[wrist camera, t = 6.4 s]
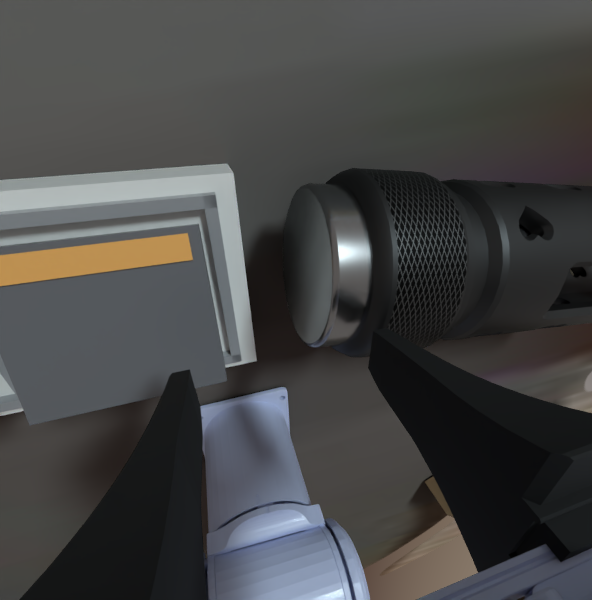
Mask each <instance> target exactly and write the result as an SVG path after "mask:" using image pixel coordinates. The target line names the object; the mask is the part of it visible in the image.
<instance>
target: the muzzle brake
mask: <svg viewBox="0 0 592 600" xmlns="http://www.w3.org/2000/svg"><path fill="white" fill-rule="evenodd" d="M570 269H571V270H572V272H573V273H574V276H572V275H571V273H570ZM283 277H284V286H285V293H286V300H287V304H288V309H289V313H290V316H291V319H292V322H293V325H294V327H295V329H296V332H297V334H298V335H299V337H300V339H301V340H302V341H303V342H304V343H305V344H306V345H308V346H310V347H324V346H331V347H332V348H333V349H335V350H337V351H339V352H341V353H343V354H345V355H347V356H350V357H367V356H370V351H371V343H372V335H373V331H374V330H379V329H384V328H388V329H389V330H391V331H393V332H395V333H397V334H398V335H400V336H402V337H404V338H405V339H407V340H409V341H410V342H412V343H414V344H416V345H417V346H419V347H421V348H424V347H427V346H430V345H432V344H433V343H434V342H436V341H437V340H439V339H443V340H455V339H464V338H470V337H473V336H485V335H496V334H504V333H512V332H520V331H528V330H535V329H540V328H550V327H560V326H568V325H576V324H584V323H592V186H574V185H553V184H534V183H514V182H494V181H473V180H454V179H453V180H447V181H441V182H440V181H439V180H438V179H436V178H434V177H432V176H430V175H428V174H426V173H421V172H412V171H394V170H376V169H359V168H352V169H348V170H345V171H343V172H340V173H339V174H337V175H336V176H334V177H332V178H331V179H330V180H329V181H328V182H326V184H313V183H309V184H306V185H303V186H301V187H300V188H299V189H298V190H297V191H296V193H295V195H294V196H293V198H292V201H291V204H290V206H289V209H288V213H287V217H286V222H285V228H284V237H283Z"/></svg>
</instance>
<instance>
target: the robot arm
mask: <svg viewBox="0 0 592 600" xmlns="http://www.w3.org/2000/svg"><path fill="white" fill-rule="evenodd" d="M368 368H369V370H370V372H371V375H372V377H373V379H374V381H375V383H376V384H377V386H378V388H379V390H380V392H381V393H382V395H383V396H384V398H385V399H386V401H387V402H388V404H389V405H390V407H391V408H392V409H393V411H394V412H395V414H396V415H397V417H398V418H399V420H400V421H401V423H402V424H403V426H404V427H405V428H406V430H407V431H408V433H409V434H410V436H411V437H412V439H413V441H414V442H415V444H416V445H417V447H418V449H419V451H420V452H421V454H422V456H423V458H424V460H425V462H426V463H427V465H428V467H429V469H430V471H431V473H432V475H433V477H434V478H435V480H436V482H437V484H438V486H439V488H440V490H441V492H442V494H443V496H444V498H445V500H446V502H447V504H448V506H449V508H450V510H451V513H452V515H453V517H454V519H455V521H456V523H457V525H458V527H459V530H460V532H461V534H462V536H463V538H464V541H465V543H466V545H467V547H468V550H469V552H470V554H471V557H472V559H473V561H474V564H475V566H476V568H477V571H478V573H477V574H474V575H472V576H470V577H467V578H465V579H463V580H461V581H458V582H456V583H454V584H451V585H449V586H447V587H444V588H442V589H440V590H437V591H435V592H433V593H430V594H428V595H426V596H424V597H421V598H419V599H417V600H517V599H519V598H521V597H523V596H525V599H524V600H592V413H588V412H584V411H580V410H576V409H571V408H567V407H563V406H560V405H556V404H553V403H550V402H546V401H543V400H539V399H536V398H533V397H530V396H527V395H524V394H521V393H518V392H515V391H513V390H510V389H507V388H504V387H502V386H499V385H496V384H494V383H491V382H489V381H487V380H484V379H482V378H480V377H477V376H475V375H473V374H470V373H468V372H466V371H464V370H462V369H460V368H458V367H456V366H454V365H452V364H450V363H448V362H446V361H444V360H442V359H440V358H439V357H437V356H435V355H433V354H431V353H430V352H428V351H426V350H424V349H423V348H421V347H419V346H417V345H416V344H414V343H412V342H410V341H409V340H407V339H405V338H404V337H402V336H400V335H398V334H397V333H395V332H393V331H391V330H389V329H388V328H384V329H379V330H374V331H373V335H372V343H371V351H370V359H369V367H368ZM281 396H282V397H281ZM202 450H203V453H204V456H205V464H206V486H207V508H208V530H209V533H207V559H206V558H205V553H204V552H203V536H202V520H201V481H202ZM20 600H370V596H369V591H368V586H367V582H366V578H365V575H364V571H363V568H362V565H361V562H360V559H359V556H358V554H357V551H356V549H355V546H354V544H353V542H352V540H351V538H350V537H349V535H348V534H347V532H346V531H345V530H344V529H343V528H342V527H341V526H340V525H339V524H338V523H337V522H336V521H335V520H334V519H331V518H328V519H324V518H323V515H322V512H321V509H320V506H319V504H316V505H311V502H310V499H309V496H308V493H307V489H306V486H305V483H304V480H303V476H302V473H301V470H300V467H299V463H298V460H297V457H296V453H295V450H294V447H293V444H292V440H291V437H290V426H289V410H288V394H287V390H286V388H285V387H279V388H275V389H271V390H266V391H262V392H258V393H254V394H250V395H245V396H241V397H237V398H233V399H228V400H224V401H220V402H216V403H212V404H207V405H203V406H200V404H199V401H198V397H197V393H196V390H195V386H194V383H193V379H192V376H191V372H190V369H189V370H184V371H179V372H175V373H172V374H171V375H170V376H169V379H168V381H167V384H166V387H165V389H164V392H163V394H162V396H161V399H160V401H159V403H158V405H157V407H156V410H155V412H154V414H153V416H152V418H151V420H150V422H149V424H148V426H147V428H146V430H145V432H144V433H143V435H142V437H141V439H140V441H139V442H138V444H137V446H136V448H135V450H134V451H133V453H132V455H131V456H130V458H129V460H128V461H127V463H126V465H125V466H124V468H123V469H122V471H121V472H120V474H119V476H118V477H117V479H116V480H115V482H114V483H113V485H112V486H111V488H110V489H109V490H108V492H107V493H106V495H105V496H104V497H103V499H102V500H101V502H100V503H99V504H98V506H97V507H96V509H95V510H94V511H93V513H92V514H91V515H90V517H89V518H88V519H87V521H86V522H85V523H84V524H83V526H82V527H81V528H80V529H79V531H78V532H77V533H76V534H75V536H74V537H73V538H72V539H71V541H70V542H69V543H68V544H67V545H66V547H65V548H64V549H63V550H62V552H61V553H60V554H59V555H58V557H57V558H56V559H55V560H54V561H53V563H52V564H51V565H50V566H49V567H48V568H47V570H46V571H45V572H44V573H43V574H42V575H41V576H40V577H39V579H38V580H37V581H36V582H35V583H34V584H33V585H32V586H31V587H30V589H29V590H28V591H27V592H26V593H25V594H24V595H23V596H22V597H21V599H20Z"/></svg>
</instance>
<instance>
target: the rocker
mask: <svg viewBox="0 0 592 600" xmlns="http://www.w3.org/2000/svg"><path fill="white" fill-rule="evenodd" d="M0 355H1V358H2V360H3V362H4V365H5V367H6V370H7V372H8V374H9V377H10V379H11V382H12V384H13V386H14V389H15V391H16V394H17V396H18V398H19V401H20V403H21V405H22V408H23V410H24V413H25V415H26V417H27V420H28V422H29V425H33V424H38V423H42V422H47V421H51V420H56V419H60V418H65V417H69V416H74V415H78V414H82V413H87V412H91V411H96V410H100V409H105V408H109V407H114V406H118V405H123V404H127V403H132V402H136V401H141V400H145V399H149V398H154V397H158V396H162V394H163V392H164V389H165V387H166V384H167V381H168V379H169V376H170V375H171V374H172V373H175V372H179V371H184V370H189V369H190V372H191V376H192V379H193V383H194V386H195V388H199V387H203V386H208V385H212V384H216V383H221V382H225V381H227V375H226V367H225V362H224V356H223V351H222V346H221V340H220V335H219V329H218V324H217V319H216V313H215V308H214V303H213V297H212V292H211V286H210V281H209V276H208V270H207V265H206V260H205V254H204V249H203V243H202V238H201V233H200V227H199V224H192V225H183V226H174V227H165V228H156V229H147V230H138V231H129V232H121V233H112V234H103V235H94V236H85V237H76V238H67V239H58V240H50V241H41V242H32V243H23V244H14V245H5V246H0Z"/></svg>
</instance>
